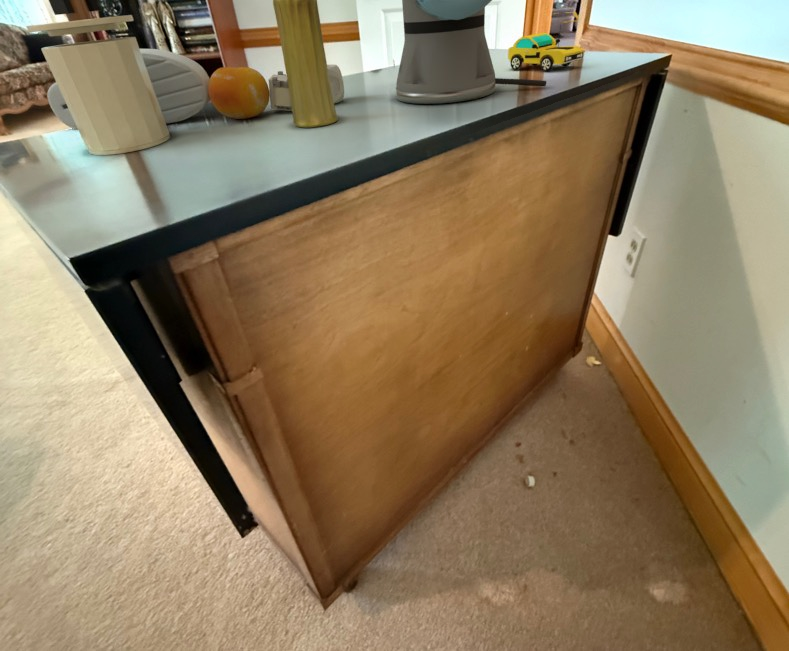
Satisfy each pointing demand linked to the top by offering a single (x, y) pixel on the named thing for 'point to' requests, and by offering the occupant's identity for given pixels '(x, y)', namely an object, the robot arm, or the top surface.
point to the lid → (80, 22)
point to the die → (336, 83)
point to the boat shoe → (159, 87)
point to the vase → (305, 62)
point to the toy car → (543, 51)
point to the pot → (108, 94)
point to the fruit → (238, 92)
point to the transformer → (279, 92)
